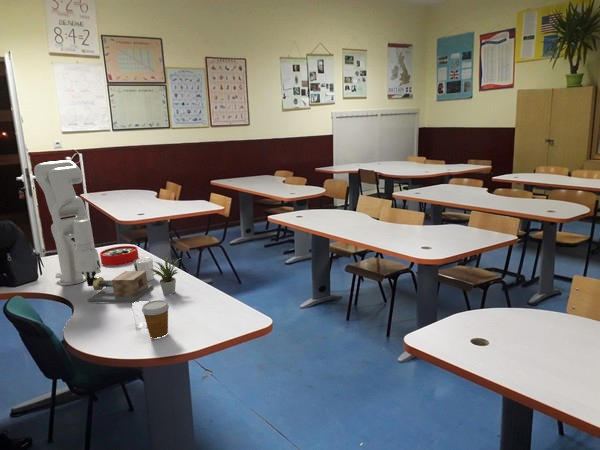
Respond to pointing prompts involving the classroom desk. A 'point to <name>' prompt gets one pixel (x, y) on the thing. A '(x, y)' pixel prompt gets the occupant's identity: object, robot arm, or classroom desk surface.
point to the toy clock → (119, 255)
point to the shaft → (101, 283)
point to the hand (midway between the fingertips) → (91, 285)
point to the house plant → (167, 277)
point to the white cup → (146, 267)
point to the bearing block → (129, 284)
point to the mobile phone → (135, 264)
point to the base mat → (108, 296)
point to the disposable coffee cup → (156, 317)
